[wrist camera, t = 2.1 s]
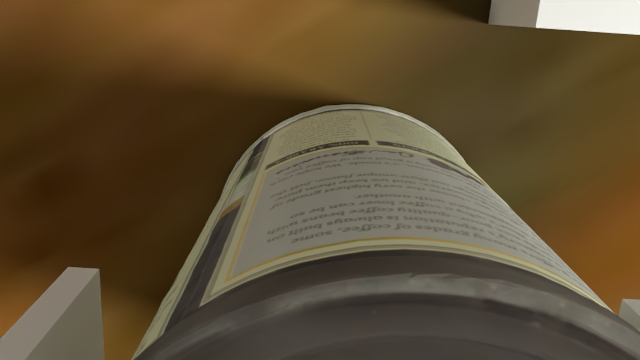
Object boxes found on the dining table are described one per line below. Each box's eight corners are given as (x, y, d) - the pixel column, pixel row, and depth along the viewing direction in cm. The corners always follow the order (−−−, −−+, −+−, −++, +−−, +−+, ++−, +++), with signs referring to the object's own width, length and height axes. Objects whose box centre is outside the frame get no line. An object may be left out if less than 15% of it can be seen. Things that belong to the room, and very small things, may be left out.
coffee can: (494, 339, 23) (743, 815, 9) (240, 367, 23) (124, 861, 10) (481, 81, 20) (814, 228, 6) (191, 119, 20) (-69, 331, 7)
